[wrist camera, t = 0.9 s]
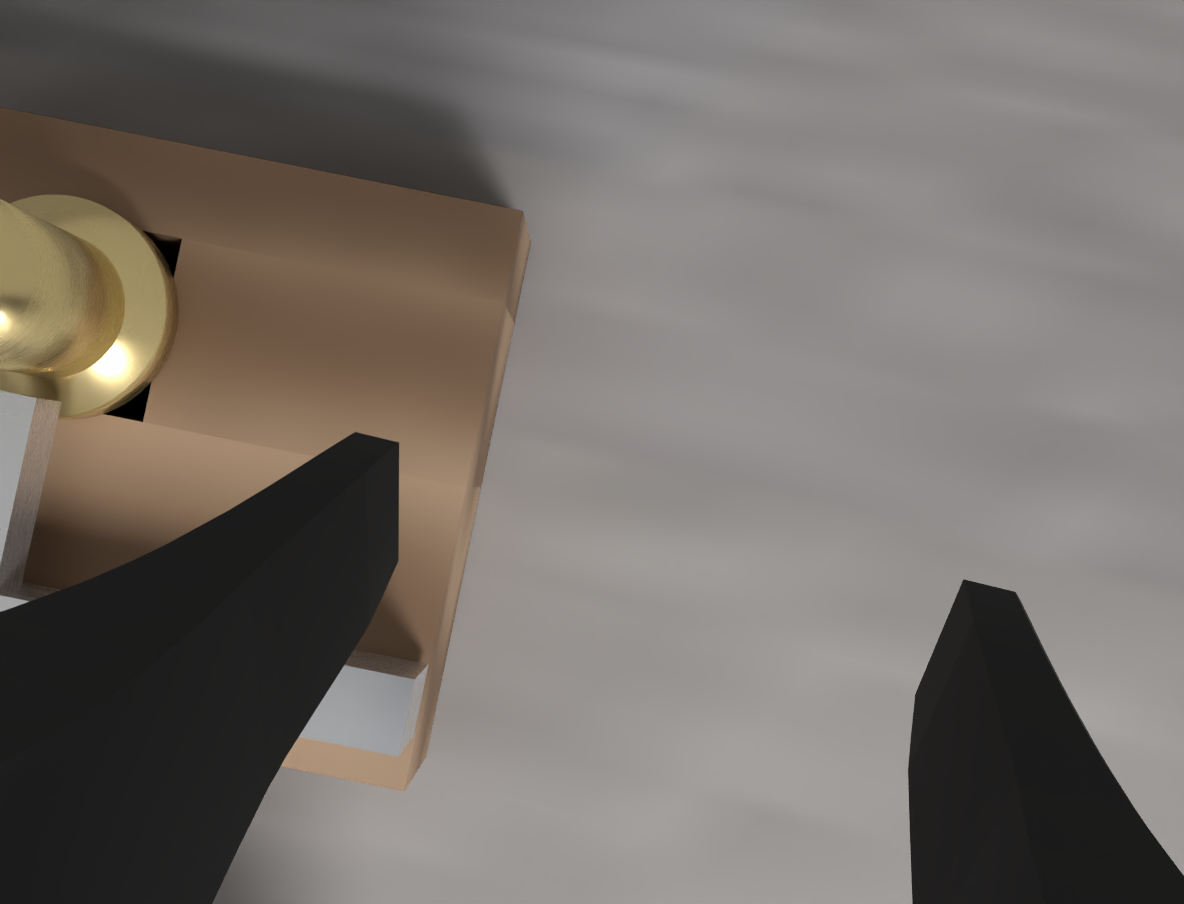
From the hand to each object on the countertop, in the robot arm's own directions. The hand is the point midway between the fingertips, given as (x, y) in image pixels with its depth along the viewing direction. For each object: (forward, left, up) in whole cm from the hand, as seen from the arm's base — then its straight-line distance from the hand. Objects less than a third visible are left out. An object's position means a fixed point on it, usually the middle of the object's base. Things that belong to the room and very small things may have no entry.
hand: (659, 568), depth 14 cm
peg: (+2, +13, -9) cm, 16 cm away
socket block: (0, +10, -12) cm, 16 cm away
